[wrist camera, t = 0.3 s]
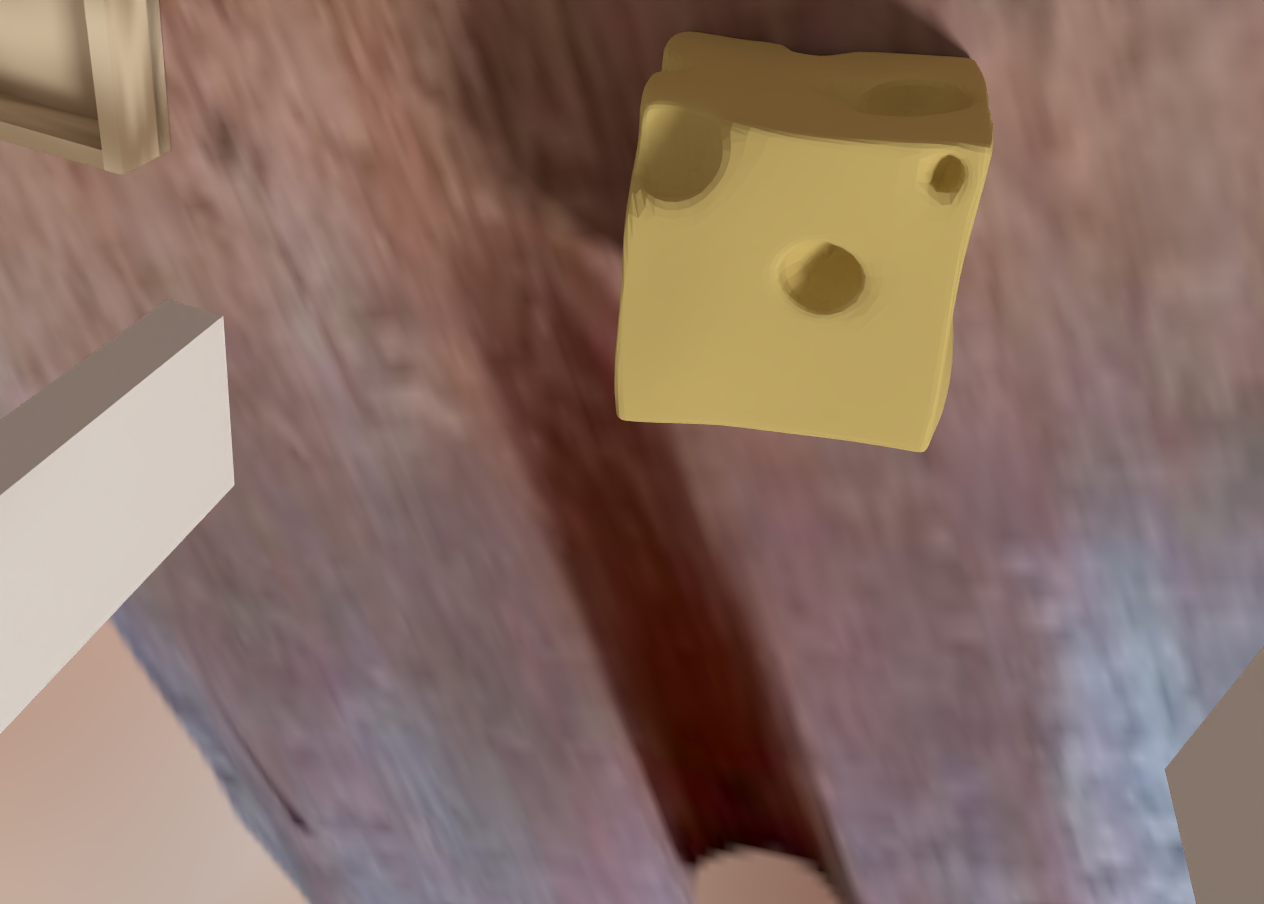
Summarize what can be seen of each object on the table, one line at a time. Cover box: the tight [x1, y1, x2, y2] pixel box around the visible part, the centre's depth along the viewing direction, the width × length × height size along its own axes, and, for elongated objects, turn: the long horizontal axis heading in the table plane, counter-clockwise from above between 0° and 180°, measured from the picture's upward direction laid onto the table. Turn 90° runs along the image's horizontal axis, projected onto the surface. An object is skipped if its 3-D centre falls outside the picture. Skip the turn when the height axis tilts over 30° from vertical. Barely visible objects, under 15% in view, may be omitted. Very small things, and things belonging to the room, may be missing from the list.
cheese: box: [615, 31, 993, 452], centre depth 34 cm, size 10×11×10 cm
